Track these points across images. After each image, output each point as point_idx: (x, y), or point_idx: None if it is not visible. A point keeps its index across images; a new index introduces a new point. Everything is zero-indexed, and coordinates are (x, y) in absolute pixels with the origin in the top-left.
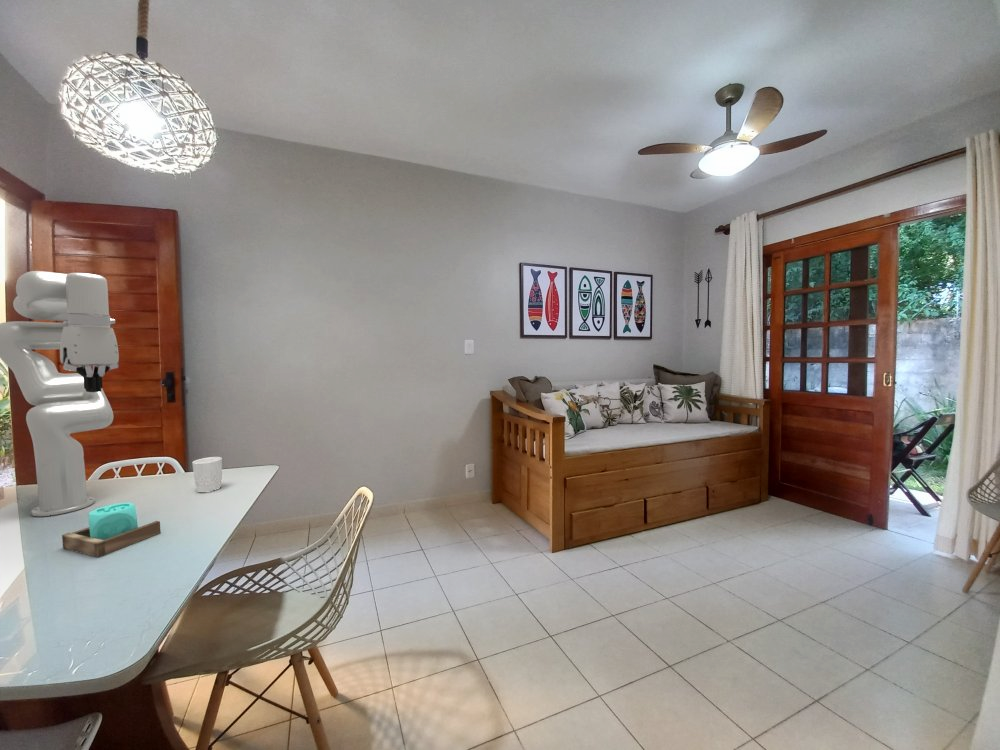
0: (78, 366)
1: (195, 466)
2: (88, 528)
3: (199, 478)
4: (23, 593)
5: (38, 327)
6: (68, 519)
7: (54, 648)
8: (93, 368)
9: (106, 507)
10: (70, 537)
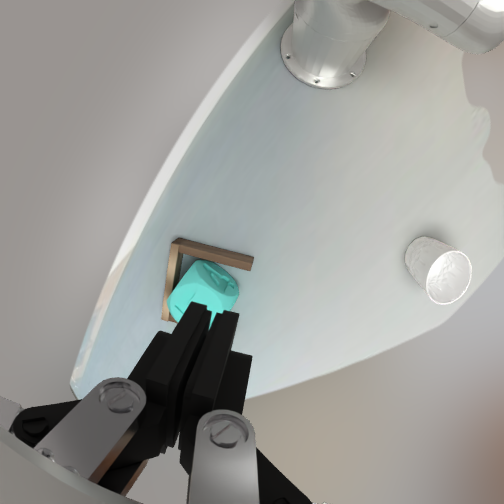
0: (35, 450)
1: (425, 270)
2: (198, 255)
3: (414, 267)
4: (105, 304)
5: None
6: (275, 116)
7: (86, 383)
8: (190, 489)
9: (198, 294)
10: (168, 262)
